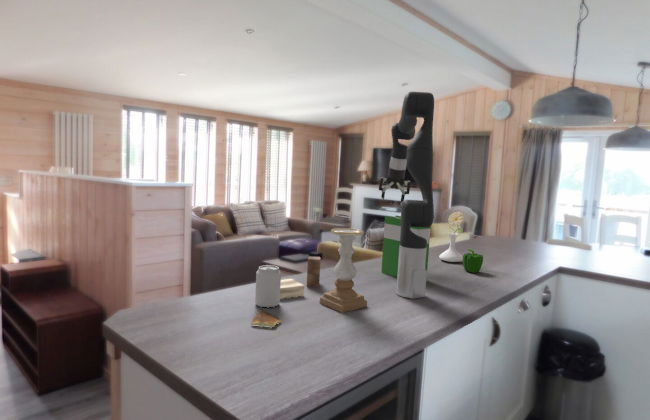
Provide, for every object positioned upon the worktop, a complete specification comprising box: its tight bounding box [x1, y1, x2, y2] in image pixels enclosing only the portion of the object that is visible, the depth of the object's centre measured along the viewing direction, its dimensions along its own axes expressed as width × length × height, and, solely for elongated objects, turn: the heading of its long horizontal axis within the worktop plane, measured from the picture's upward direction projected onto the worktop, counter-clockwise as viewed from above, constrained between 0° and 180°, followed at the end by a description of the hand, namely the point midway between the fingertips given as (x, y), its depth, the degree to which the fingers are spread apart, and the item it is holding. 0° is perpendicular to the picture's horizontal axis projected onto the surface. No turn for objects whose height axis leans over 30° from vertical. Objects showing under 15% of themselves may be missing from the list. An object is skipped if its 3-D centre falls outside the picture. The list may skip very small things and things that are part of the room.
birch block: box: [280, 278, 305, 300], centre depth 141 cm, size 9×9×4 cm
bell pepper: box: [462, 248, 484, 274], centre depth 186 cm, size 8×8×10 cm
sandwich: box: [250, 309, 282, 328], centre depth 116 cm, size 11×8×2 cm
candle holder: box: [319, 227, 368, 313], centre depth 131 cm, size 11×11×24 cm
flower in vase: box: [438, 211, 465, 263], centre depth 204 cm, size 13×11×25 cm
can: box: [254, 264, 282, 309], centre depth 128 cm, size 8×8×12 cm
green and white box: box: [380, 215, 432, 281], centre depth 171 cm, size 18×7×24 cm, turn 39°
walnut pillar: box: [306, 255, 321, 288], centre depth 153 cm, size 4×4×10 cm
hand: (392, 200), depth 198 cm, fingers open, 8 cm apart
